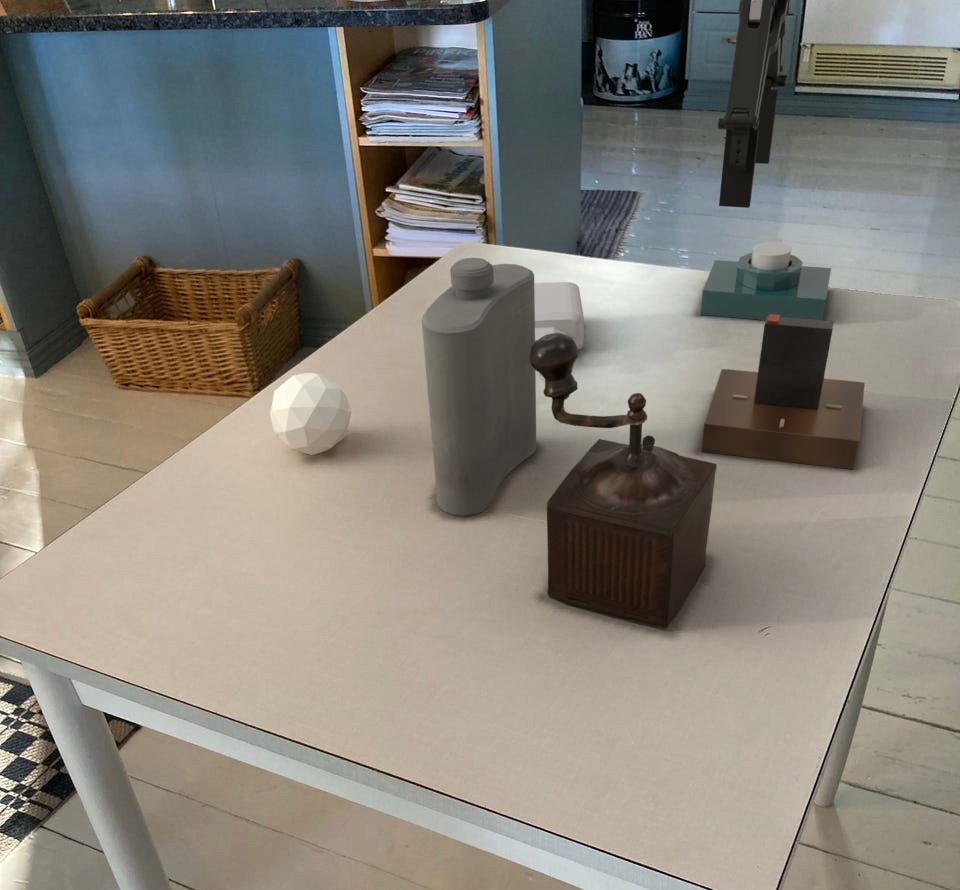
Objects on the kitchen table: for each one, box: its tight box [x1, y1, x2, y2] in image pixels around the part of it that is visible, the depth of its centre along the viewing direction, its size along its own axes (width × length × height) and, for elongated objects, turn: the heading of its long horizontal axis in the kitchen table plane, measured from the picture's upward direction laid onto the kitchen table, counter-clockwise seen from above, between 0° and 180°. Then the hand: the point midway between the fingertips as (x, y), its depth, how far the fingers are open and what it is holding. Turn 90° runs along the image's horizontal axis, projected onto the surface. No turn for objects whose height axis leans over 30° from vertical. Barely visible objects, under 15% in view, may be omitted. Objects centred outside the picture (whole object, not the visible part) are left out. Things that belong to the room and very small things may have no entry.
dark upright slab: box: [754, 314, 835, 409], centre depth 97 cm, size 6×2×8 cm, turn 72°
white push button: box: [751, 241, 792, 270], centre depth 121 cm, size 4×4×2 cm
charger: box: [534, 281, 585, 351], centre depth 116 cm, size 5×9×15 cm
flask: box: [421, 257, 537, 517], centre depth 91 cm, size 15×6×20 cm, turn 154°
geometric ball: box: [269, 372, 352, 456], centre depth 100 cm, size 8×8×8 cm
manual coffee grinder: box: [529, 333, 717, 631], centre depth 79 cm, size 16×11×18 cm
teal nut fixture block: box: [699, 252, 832, 321], centre depth 123 cm, size 14×10×5 cm
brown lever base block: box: [700, 368, 865, 470], centre depth 100 cm, size 14×12×3 cm
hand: (745, 183), depth 98 cm, fingers open, 13 cm apart
